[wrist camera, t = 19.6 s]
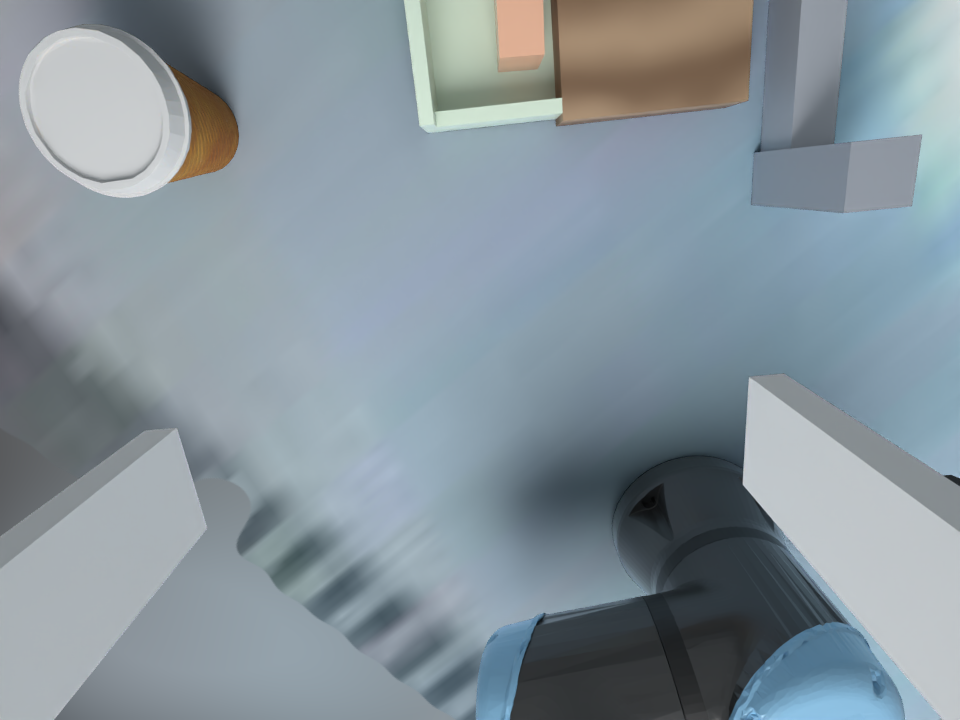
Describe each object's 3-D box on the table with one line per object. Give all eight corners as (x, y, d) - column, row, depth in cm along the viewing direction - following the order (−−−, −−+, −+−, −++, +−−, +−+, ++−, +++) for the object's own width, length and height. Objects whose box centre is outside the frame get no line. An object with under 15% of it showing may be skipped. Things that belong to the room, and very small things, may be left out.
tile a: (544, 54, 36) (499, 58, 36) (537, 69, 40) (497, 72, 41) (542, -35, 34) (494, -31, 34) (535, -9, 39) (493, -5, 39)
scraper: (801, 199, 44) (911, 206, 32) (751, 204, 44) (843, 212, 33) (831, -171, 36) (989, -331, 25) (770, -163, 37) (900, -319, 25)
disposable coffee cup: (210, 37, 41) (103, -19, 29) (283, 157, 43) (210, 148, 32) (112, 103, 42) (-27, 75, 31) (188, 215, 45) (86, 227, 33)
